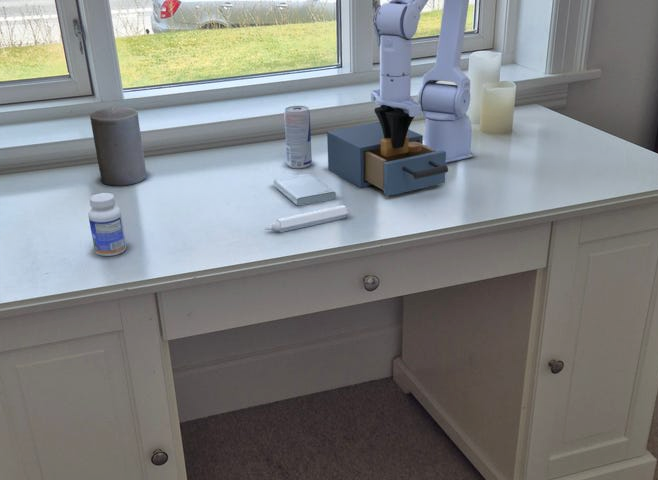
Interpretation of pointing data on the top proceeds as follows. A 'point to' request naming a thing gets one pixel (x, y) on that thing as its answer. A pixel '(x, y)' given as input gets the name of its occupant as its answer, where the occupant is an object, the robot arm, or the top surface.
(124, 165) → the pillar candle
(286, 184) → the hard drive
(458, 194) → the top surface
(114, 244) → the pill bottle
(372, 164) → the drawer
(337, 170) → the cabinet
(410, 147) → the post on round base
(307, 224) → the marker
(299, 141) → the energy drink
